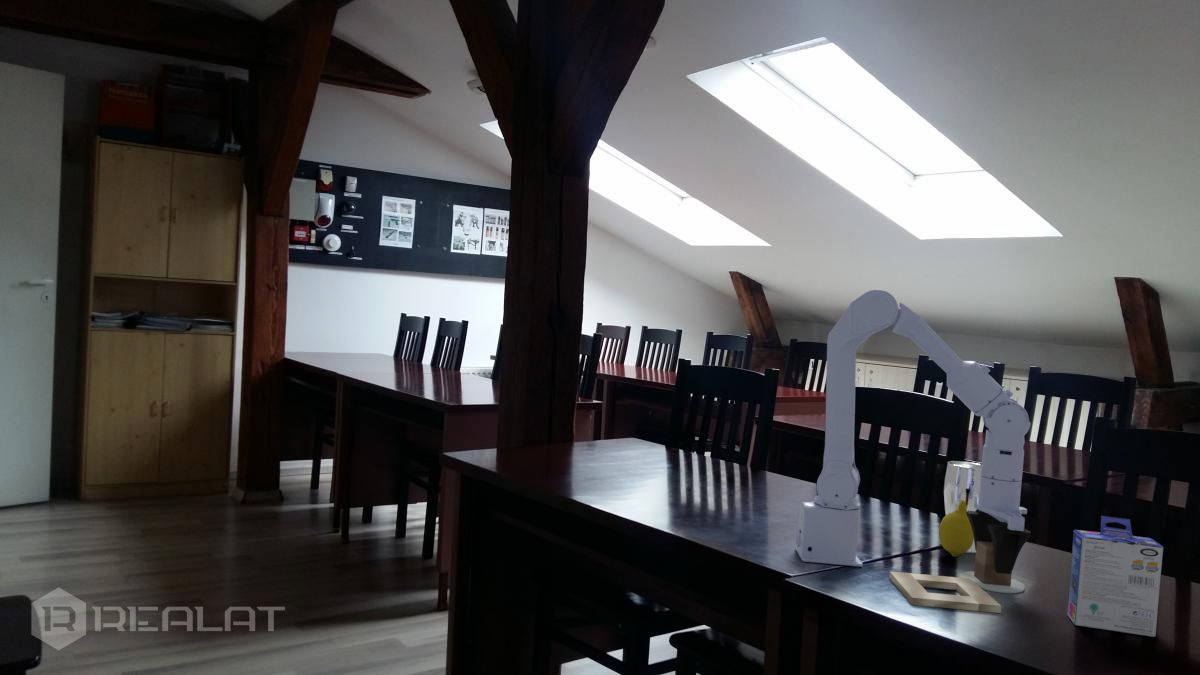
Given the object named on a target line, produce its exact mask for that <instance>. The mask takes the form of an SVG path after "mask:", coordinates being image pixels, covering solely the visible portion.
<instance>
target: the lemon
mask: <svg viewBox="0 0 1200 675" xmlns="http://www.w3.org/2000/svg"><path fill="white" fill-rule="evenodd" d="M938 538H939V543H940V544H941V546H942V548H943V549H945V551H947V552H948V553H950V555H951V556H952V557H955V558H956V557H958V556H960V555H961V554H966V553H965V552H966V551H968V550H969V549H970V547H971V546H972V544H973V541H974V536H973V531H972V527H971V524H970V521H969V519H968V517H967V516H966V515H965V514H963V513H962V512H961V511H959V510H956V511H955V512H952V513H949V514H947V515H946V514H945V516H944V517H943V518H942V520H941V522H940V525H939V528H938Z"/></svg>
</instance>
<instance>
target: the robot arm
mask: <svg viewBox="0 0 1200 675" xmlns="http://www.w3.org/2000/svg"><path fill="white" fill-rule="evenodd" d="M890 326H894V327H893V328H892V329H891V333H893V334H896V335H899V336H902V337H905V338H908V339H910V340H911V341H912V342H913V343H914V344H915V345H916V346H917V347H918V348H919V349H920V350H921V351H923V352H924V354H926V355H927V356H928V357H929V358H930V359H931V360H932V361H933V362H934V363H935V364H936V365H937V366H938V367H940V369H941V370H943V372H945V374H946V387H947V388H948V389H949V391H951V392H952V393H953V395H955V396H956V397H957V398H958V399H959V400H960V401H961V402H962V403H963V404H964V406H966V407H967V408H968V409H969V410H970V411H971V413H972V414H974V415H975V416H977V417H982V422H983V424H984V426H985V427H986V428H987V429H986V430H985V441H984V444H983V448H982V456H981V465H982V467H981V478H980V490H979V496H975V501H974V507H975V508H977V510H976V511H966V515H967V517H968V519H969V521H970V524H971V527H972V531H973V536H974V543H975V550H976V547H977V541H984V542H993V549H994V567H995V572H997V573H1002V574H1011V573H1012V572H1013V571H1014V568H1015V565H1016V561H1017V559H1018V557H1019V554H1020V552H1021V550H1022V548H1023V546H1024V545H1025V543H1026V542H1027V541H1028V540H1029V539H1030V538H1031V533H1032V532H1031V531H1030V530H1028V528H1027V529H1026V528H1025V521H1026V519H1025V517H1024V516H1022V515H1027V513H1028V509H1027V508H1025V507H1024V506H1020V504H1021V503H1020V502H1021V492H1022V480H1023V479H1022V478H1023V470H1024V458H1025V450H1024V446H1025V442H1026V440H1025V435H1026V434H1027V433H1028V432H1029V431H1030V428H1031V424H1032V423H1031V422H1030V418H1029V414H1028V412H1027V410H1026V408H1024V407H1023V406H1022V405H1021V404H1019V403H1018V401H1017V400H1015V399H1013V398H1011V397H1012V396H1014V392H1012V391H1011V390H1010V389H1008V388H1007V389H1006V390H1005V389H1004V388H1003V387H1002V386H1001V385H1000V384H999V383H998V382H997V381H996V380H995V379H994V378H993V377H992V376H991V375H990V374H989V373H990V372H991V370H990V368H989V367H988V366H987V365H986V364H982V365H980V364H979V363H978V362H977V361H975V360H962V359H961V358H960V357H959V356H958V355H957V354H956V352H955V351H953V349H951V347H950V346H949V345H948V344H947V343H946V342H945V340H943V339H942V338H941V336H939V335H938V334H937V333H936V332H935V330H934V329H932V327H931V326H930V325H929V324H928V323H927V322H926V320H924V319H923V318H922V317H921V316H920V315H918V314H917V313H916V312H914V311H913V310H912V309H910V308H909V307H907V306H906V305H905V304H904V303H902V302H899V304H898V302H897V299H896V298H895V296H893V294H891V293H890V292H888V291H887V290H883V289H877V288H876V289H871V290H868V291H865V293H864V292H863V293H862V294H861V295H860V296H858V297H857V298H856V299H854V300H853V301H851V302H850V304H849V305H848V307H847V308H846V309H845V311H844V313H843V314H842V315H841V317H839V319H838V321H837V322H836V324H834V326H833V327H832V329H831V330H830V331H829V333H828V335H827V339H826V340H827V341H826V342H827V343H826V344H827V345H826V347H827V348H826V382H825V384H826V385H825V386H826V390H825V427H824V428H825V430H824V432H825V436H824V451H823V460H822V462H823V464H822V470H821V473H820V474H819V476H818V478H817V480H816V481H817V482H816V491H817V494H818V495H816V496H814V499H813V501H800V502H801V503H800V504H799V507H798V508H799V509H798V518H797V529H796V540H795V541H796V542H795V550H796V552H797V554H798V556H799V558H800V560H801V561H802V562H804V563H806V562H807V563H818V564H827V565H828V564H829V565H840V566H849V567H850V566H852V567H863V565H864V563H863V562H862V561H861V560H860V558H859V557H858V556H857V550H858V549H857V548H858V547H857V546H858V536H859V526H860V525H859V524H860V511H861V510H860V509H861V503H860V502H859V501H858V500H857V499H856V497H857V495H858V491H859V485H860V482H861V476H860V472H859V469H858V468H857V467H856V462H855V419H856V418H855V417H856V416H855V415H856V380H857V379H856V376H857V374H856V373H857V372H856V371H857V370H856V369H857V349H858V348H859V347H860V346H861V345H862V344H864V342H865V341H867V340H868V339H869V338H870V337H871V336H872V335H874V334H876V333H879V332H881V331H883V330H885V329H887V328H888V327H890Z"/></svg>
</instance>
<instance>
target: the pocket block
mask: <svg viewBox="0 0 1200 675" xmlns="http://www.w3.org/2000/svg"><path fill="white" fill-rule="evenodd" d="M888 579H889V580H890V581H891V582H892V583H893V584H894V585H895V587H896V588H897V589H898V590H899V591H900V593H901V594H902V595H903V596H904V597H905V599H907V601H908V602H909V603H910V605H912V606H923V607H932V608H933V607H934V608H943V609H952V610H953V609H954V610H955V609H956V610H963V611H965V610H966V611H975V612H976V611H977V612H985V613H995V614H996V613H997V614H998V613H999V614H1001V613H1002V605H1001V604H1000V603H998V601H996V599H994V598H993V597H992V596H990V594H988V593H987V592H986V590H983V589H981V588H980V587H979V586H978V585H977V584H976V583H975V582H974V581H972V580H971V579H969V578H960V577H956V576H947V575H946V576H944V575H935V574H934V575H933V574H922V573H910V572H901V571H890V570H889V574H888ZM925 588H932V589H944V590H956V591H957V592H958V593H959V594H960V595H959V594H947V593H936V592H929V591H927V590H926V589H925Z"/></svg>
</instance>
